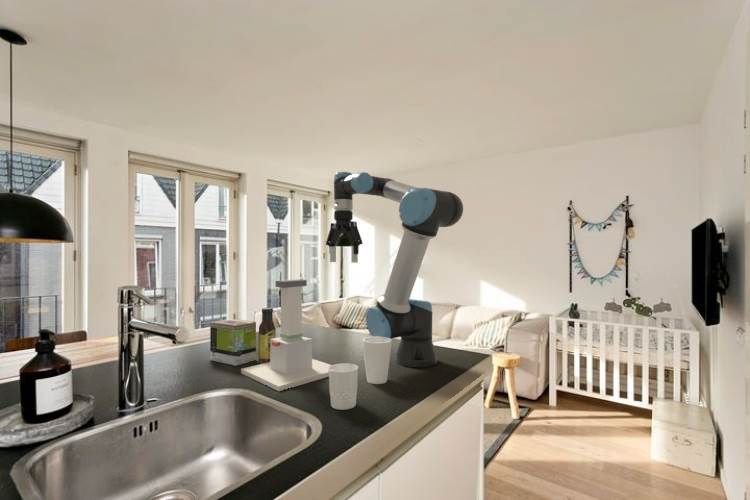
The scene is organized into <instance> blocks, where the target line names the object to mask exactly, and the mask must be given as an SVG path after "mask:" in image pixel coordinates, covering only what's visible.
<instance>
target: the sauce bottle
mask: <svg viewBox="0 0 750 500" xmlns="http://www.w3.org/2000/svg"><path fill="white" fill-rule="evenodd" d="M273 313H274V308H273V307H264V308H262V309H261V314H262V315H261V317H262V318H261V322H260V323H259V326H258V335H257V336H258V342H257V343H258V345H257V347H258V348H257V358H258V363H259V364H264V363H268V362H270V339H273V338H277V334H276V333H277V331H276V330H277V329H276V326H275V323H274V318H273Z"/></svg>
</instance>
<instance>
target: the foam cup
mask: <svg viewBox="0 0 750 500" xmlns="http://www.w3.org/2000/svg"><path fill="white" fill-rule="evenodd" d="M361 346H362V347H361V348H362V351H363V358H364V366H365V375H366V381H367V383H369V384H373V385H381V384H385V383H387V382H388V375H389V370H390V369H389V366H390V361H391V360H390V359H391V353H392V352H391V350H392V347H393V339H391V338H388V337H381V336H367V337H363V338H362V340H361Z"/></svg>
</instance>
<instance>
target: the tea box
mask: <svg viewBox="0 0 750 500" xmlns="http://www.w3.org/2000/svg"><path fill="white" fill-rule="evenodd" d="M209 331H210V332H209V333H210V335H209V337H210V341H209V343H210V344H209V349H210V350H209V355H210V356H209V357H210V361H214V362H218V363H221V364H226V365H231V366H235V367H236V366H240V365H244V364H247V363H250V361H251V362H254V361H256V360H257V321H252V320H245V319H244V320H243V319H236V318H230V319H222V320H216V321H210V329H209Z"/></svg>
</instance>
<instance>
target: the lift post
mask: <svg viewBox="0 0 750 500" xmlns="http://www.w3.org/2000/svg"><path fill="white" fill-rule="evenodd" d="M307 282H308V281H307V279H283V280H275V288H280V333H279V337H281V340H284V341H287V342H291V341H296V340H301V339H302V337H304V336H303V335H304V334H303V331H302V330H303V329H302V328H303V327H302V325H303V324H302V323H303V316H302V314H303V311H302V307H303V306H302V305H303V301H302V300H303V298H302V293H303V292H302V289H303V287H307V286H308V284H307Z"/></svg>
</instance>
